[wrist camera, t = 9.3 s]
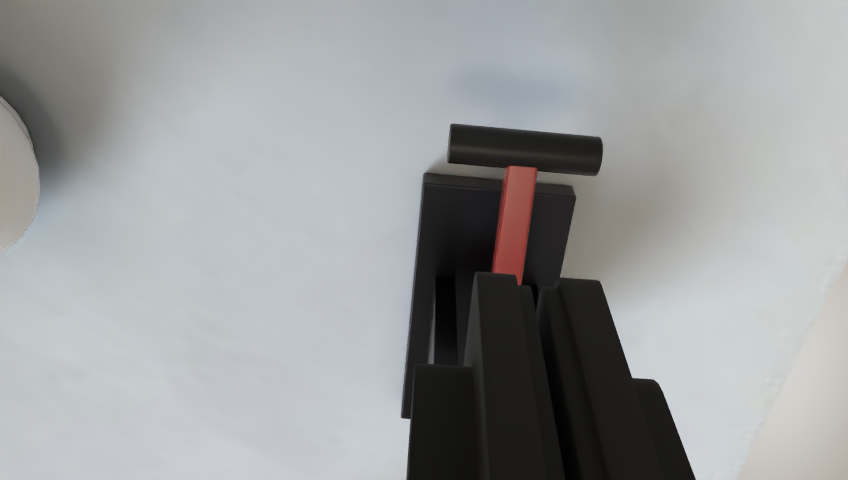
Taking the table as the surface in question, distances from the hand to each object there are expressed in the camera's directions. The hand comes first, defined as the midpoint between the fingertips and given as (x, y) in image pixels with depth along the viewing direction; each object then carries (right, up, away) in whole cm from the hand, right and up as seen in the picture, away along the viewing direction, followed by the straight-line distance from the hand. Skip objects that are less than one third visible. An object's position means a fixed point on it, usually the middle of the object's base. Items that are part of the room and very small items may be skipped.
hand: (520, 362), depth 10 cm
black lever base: (+2, -2, +27) cm, 27 cm away
